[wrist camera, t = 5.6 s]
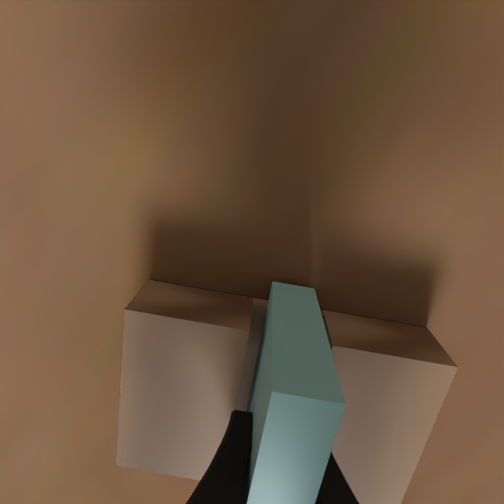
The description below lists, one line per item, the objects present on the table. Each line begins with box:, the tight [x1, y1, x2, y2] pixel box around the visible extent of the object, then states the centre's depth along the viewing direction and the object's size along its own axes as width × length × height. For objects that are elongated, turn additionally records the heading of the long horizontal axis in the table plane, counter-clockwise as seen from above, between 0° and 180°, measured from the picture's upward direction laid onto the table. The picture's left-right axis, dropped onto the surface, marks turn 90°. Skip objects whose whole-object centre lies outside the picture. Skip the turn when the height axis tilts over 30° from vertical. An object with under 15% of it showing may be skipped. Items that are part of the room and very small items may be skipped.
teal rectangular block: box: [241, 281, 346, 504], centre depth 12 cm, size 2×9×6 cm, turn 170°
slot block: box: [116, 280, 458, 504], centre depth 14 cm, size 11×7×2 cm, turn 81°
